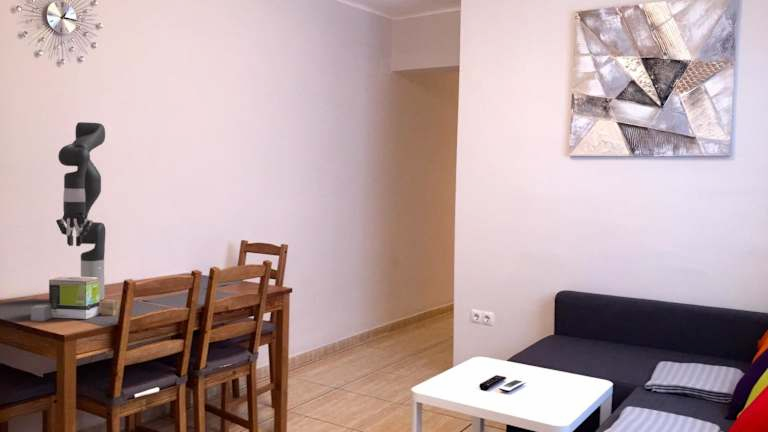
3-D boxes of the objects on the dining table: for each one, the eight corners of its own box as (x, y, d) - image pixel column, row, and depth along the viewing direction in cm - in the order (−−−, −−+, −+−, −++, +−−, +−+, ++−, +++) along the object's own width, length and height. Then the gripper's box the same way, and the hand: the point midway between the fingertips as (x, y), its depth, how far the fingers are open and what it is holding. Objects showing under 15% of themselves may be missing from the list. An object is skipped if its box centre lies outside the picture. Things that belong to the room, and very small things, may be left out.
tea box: (100, 314, 255) (100, 276, 254) (86, 320, 245) (86, 281, 244) (63, 312, 256) (63, 274, 255) (48, 317, 246) (48, 278, 245)
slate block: (38, 317, 246) (38, 304, 246) (51, 318, 246) (51, 304, 246) (30, 320, 241) (30, 306, 241) (44, 321, 241) (43, 307, 241)
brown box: (106, 312, 259) (106, 299, 258) (119, 312, 258) (119, 300, 258) (100, 315, 254) (100, 302, 253) (113, 315, 253) (113, 302, 253)
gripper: (97, 200, 251) (97, 245, 252) (61, 199, 251) (61, 244, 253) (87, 201, 243) (87, 247, 244) (51, 200, 244) (51, 246, 245)
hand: (74, 245), depth 248 cm, fingers closed
